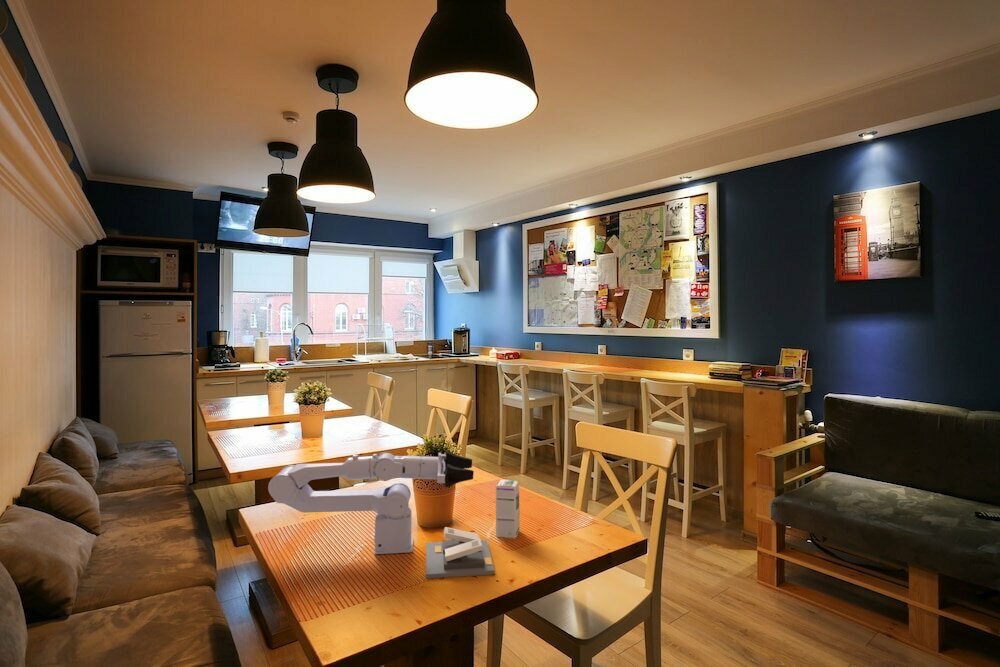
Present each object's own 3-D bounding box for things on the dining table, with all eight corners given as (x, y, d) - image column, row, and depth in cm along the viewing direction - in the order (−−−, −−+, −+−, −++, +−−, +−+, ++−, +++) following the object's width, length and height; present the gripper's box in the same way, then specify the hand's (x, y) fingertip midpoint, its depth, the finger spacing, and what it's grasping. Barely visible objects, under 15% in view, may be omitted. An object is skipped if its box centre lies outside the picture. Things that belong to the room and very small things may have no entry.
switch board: (426, 578, 122) (426, 564, 121) (426, 546, 138) (426, 534, 138) (494, 574, 124) (494, 561, 124) (486, 543, 141) (486, 531, 140)
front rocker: (446, 561, 125) (445, 556, 125) (446, 553, 129) (444, 549, 128) (483, 549, 126) (481, 544, 126) (481, 542, 130) (480, 537, 130)
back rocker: (444, 537, 132) (445, 532, 132) (443, 531, 136) (445, 526, 136) (478, 545, 134) (479, 540, 134) (477, 538, 138) (478, 533, 138)
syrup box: (516, 539, 144) (516, 486, 143) (495, 537, 145) (495, 484, 144) (519, 530, 149) (520, 480, 149) (499, 528, 150) (499, 478, 150)
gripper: (420, 463, 130) (475, 465, 132) (423, 443, 144) (472, 444, 146) (418, 490, 131) (473, 492, 133) (421, 467, 145) (470, 469, 147)
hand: (472, 469), depth 139 cm, fingers open, 7 cm apart
